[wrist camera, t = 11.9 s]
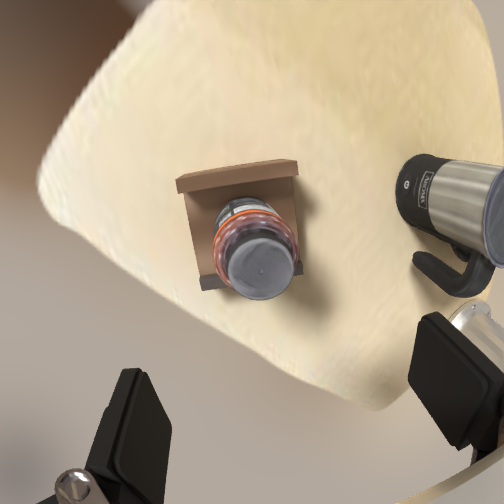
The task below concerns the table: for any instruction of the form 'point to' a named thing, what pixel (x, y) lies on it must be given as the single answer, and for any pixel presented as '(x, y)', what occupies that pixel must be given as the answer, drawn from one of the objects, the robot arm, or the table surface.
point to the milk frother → (455, 217)
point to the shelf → (226, 189)
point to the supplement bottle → (253, 249)
